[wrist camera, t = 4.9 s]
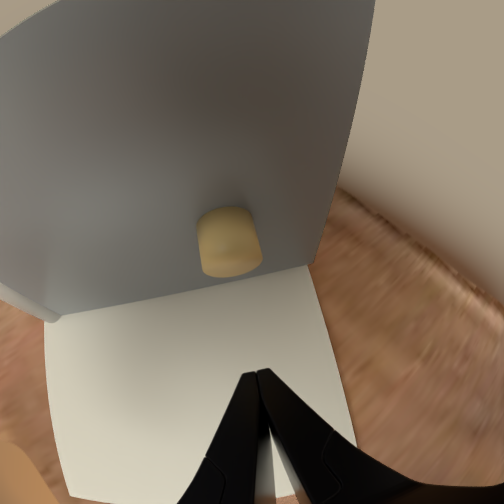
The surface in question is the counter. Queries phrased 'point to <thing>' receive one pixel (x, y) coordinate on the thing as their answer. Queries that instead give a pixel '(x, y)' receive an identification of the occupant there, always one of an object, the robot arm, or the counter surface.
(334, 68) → the door
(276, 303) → the board
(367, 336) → the counter surface
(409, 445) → the counter surface
